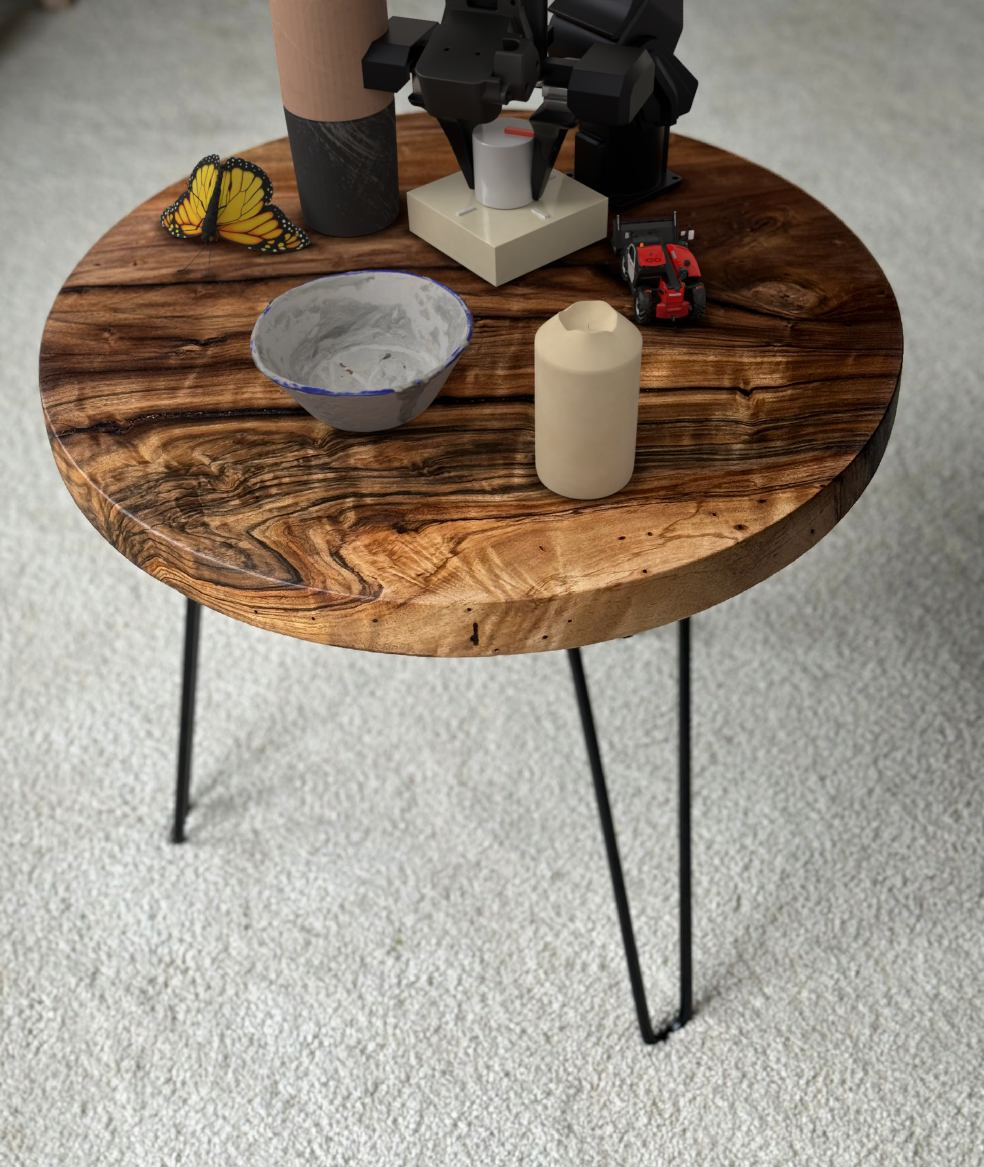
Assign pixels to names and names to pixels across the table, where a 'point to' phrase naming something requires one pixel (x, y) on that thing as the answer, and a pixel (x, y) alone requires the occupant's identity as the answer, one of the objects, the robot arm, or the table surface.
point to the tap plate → (507, 225)
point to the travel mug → (337, 114)
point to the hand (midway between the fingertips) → (505, 192)
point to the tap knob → (503, 163)
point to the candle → (586, 400)
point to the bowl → (363, 346)
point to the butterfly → (232, 208)
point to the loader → (659, 268)
